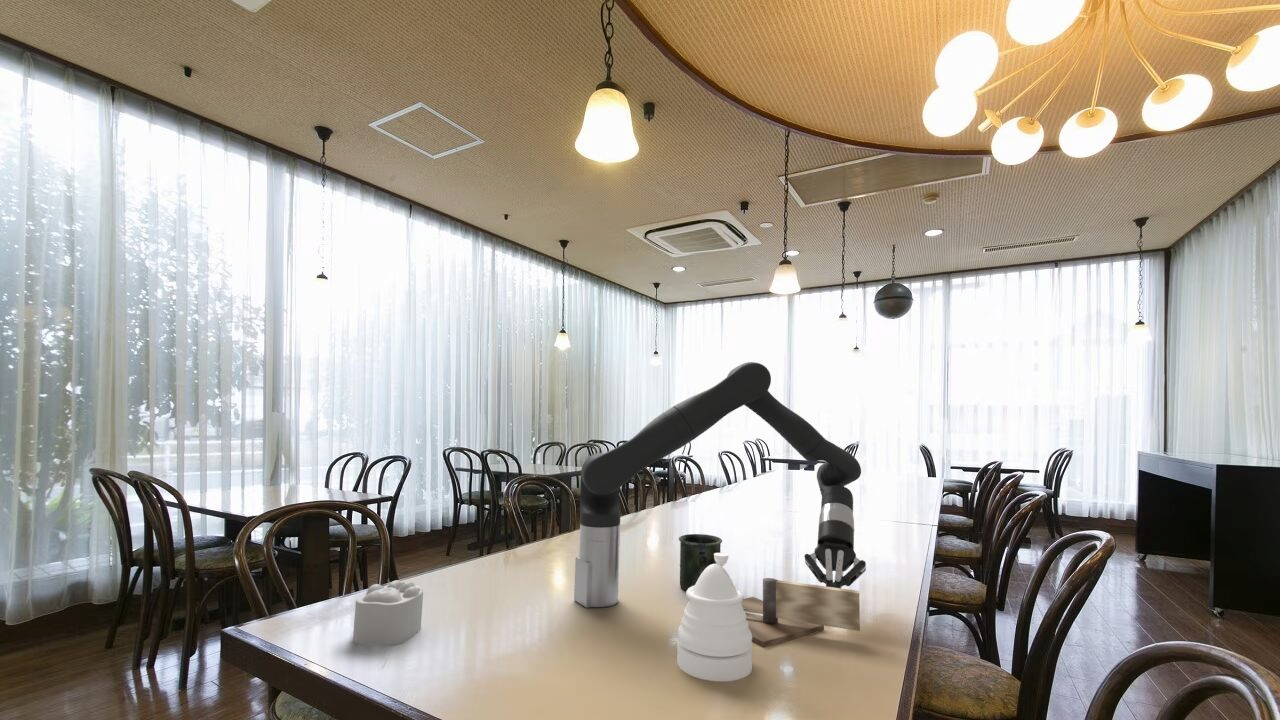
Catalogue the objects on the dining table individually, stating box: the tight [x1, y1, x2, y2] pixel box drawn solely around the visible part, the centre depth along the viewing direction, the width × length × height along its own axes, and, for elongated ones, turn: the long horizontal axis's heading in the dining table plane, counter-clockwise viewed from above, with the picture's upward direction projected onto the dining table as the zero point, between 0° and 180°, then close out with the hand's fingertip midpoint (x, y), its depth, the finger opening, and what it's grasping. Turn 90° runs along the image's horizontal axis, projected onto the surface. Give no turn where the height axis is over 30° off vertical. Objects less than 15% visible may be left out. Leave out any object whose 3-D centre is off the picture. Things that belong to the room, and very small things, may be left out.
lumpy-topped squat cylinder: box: [352, 579, 424, 647], centre depth 107 cm, size 10×13×9 cm
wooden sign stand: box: [741, 596, 825, 648], centre depth 116 cm, size 17×20×1 cm
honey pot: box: [676, 552, 753, 682], centre depth 96 cm, size 13×13×18 cm
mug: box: [678, 533, 723, 592], centre depth 137 cm, size 11×15×12 cm
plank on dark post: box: [744, 577, 861, 632], centre depth 112 cm, size 28×3×8 cm, turn 67°
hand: (833, 601), depth 112 cm, fingers closed
